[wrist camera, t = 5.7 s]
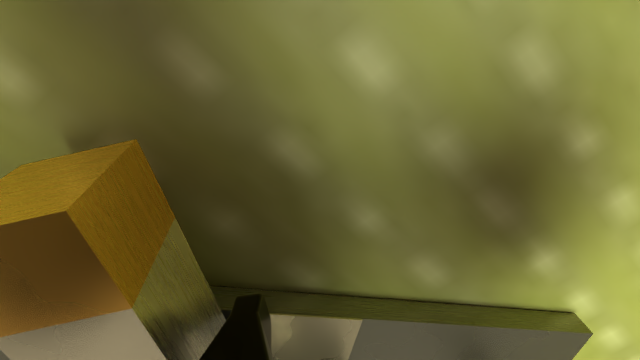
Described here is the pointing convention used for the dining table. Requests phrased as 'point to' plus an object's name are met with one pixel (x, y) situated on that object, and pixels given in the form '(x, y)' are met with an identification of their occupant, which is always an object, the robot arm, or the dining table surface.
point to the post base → (407, 329)
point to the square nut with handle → (98, 264)
